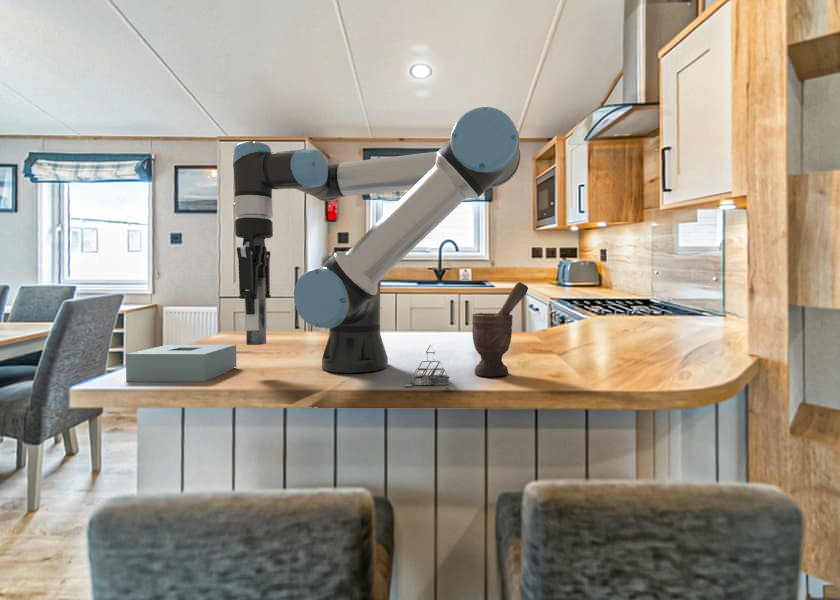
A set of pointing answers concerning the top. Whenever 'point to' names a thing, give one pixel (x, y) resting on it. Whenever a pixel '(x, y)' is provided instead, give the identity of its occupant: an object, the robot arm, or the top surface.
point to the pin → (259, 335)
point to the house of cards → (429, 378)
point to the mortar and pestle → (495, 334)
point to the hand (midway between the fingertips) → (256, 329)
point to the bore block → (180, 363)
